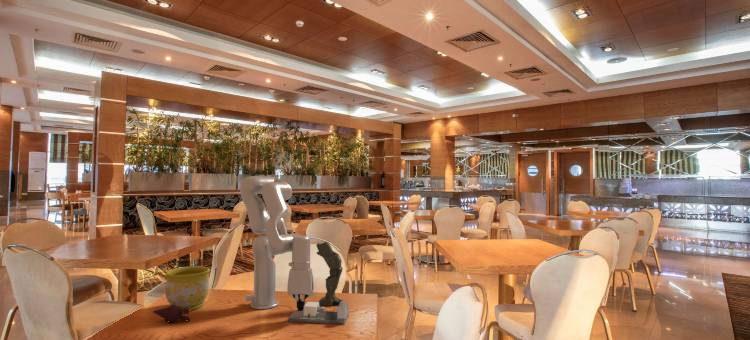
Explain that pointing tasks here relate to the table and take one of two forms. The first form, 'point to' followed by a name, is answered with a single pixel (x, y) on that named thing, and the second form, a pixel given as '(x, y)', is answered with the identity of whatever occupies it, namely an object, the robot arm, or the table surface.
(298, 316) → the gauge base
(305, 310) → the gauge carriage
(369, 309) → the table surface
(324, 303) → the mechanical leg
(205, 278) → the flowerpot
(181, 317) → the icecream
